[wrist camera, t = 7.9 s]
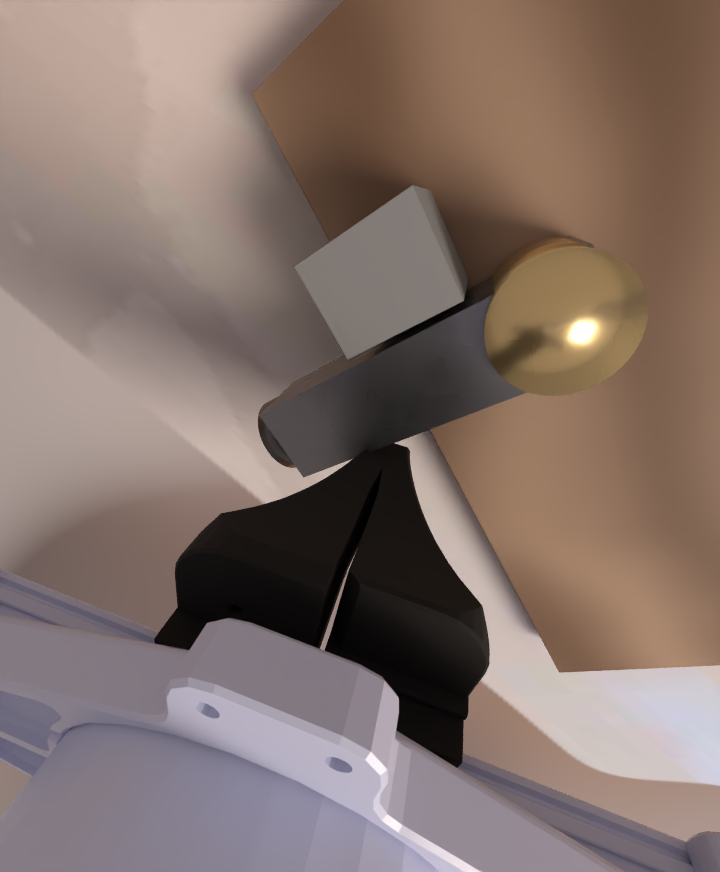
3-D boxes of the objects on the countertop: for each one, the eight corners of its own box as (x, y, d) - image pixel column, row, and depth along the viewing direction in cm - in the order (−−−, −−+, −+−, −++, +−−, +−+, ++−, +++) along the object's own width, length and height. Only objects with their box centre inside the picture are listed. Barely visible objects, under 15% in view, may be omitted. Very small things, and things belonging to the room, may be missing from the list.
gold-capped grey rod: (587, 211, 9) (622, 212, 7) (624, 325, 10) (666, 360, 8) (275, 382, 14) (233, 418, 11) (321, 449, 15) (290, 495, 12)
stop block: (430, 189, 10) (412, 184, 7) (468, 278, 11) (463, 301, 8) (336, 253, 11) (294, 267, 9) (375, 327, 12) (347, 359, 10)
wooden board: (1108, -693, 5) (1324, -1002, 4) (1013, 605, 13) (1071, 649, 11) (277, 106, 11) (251, 94, 10) (554, 641, 19) (559, 672, 18)
